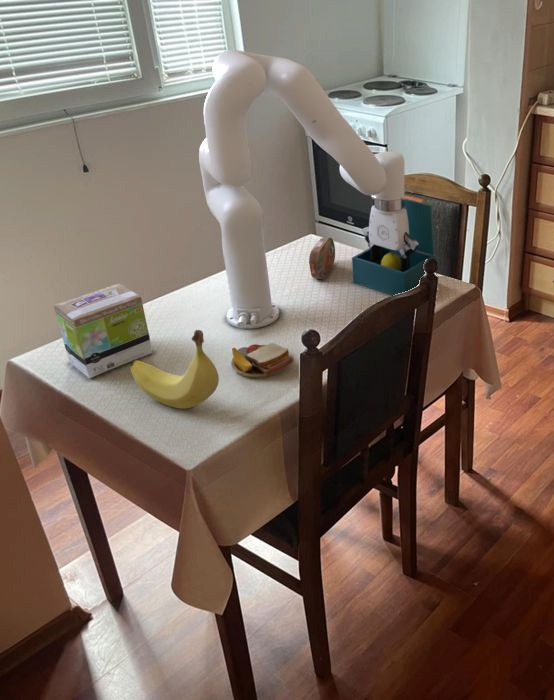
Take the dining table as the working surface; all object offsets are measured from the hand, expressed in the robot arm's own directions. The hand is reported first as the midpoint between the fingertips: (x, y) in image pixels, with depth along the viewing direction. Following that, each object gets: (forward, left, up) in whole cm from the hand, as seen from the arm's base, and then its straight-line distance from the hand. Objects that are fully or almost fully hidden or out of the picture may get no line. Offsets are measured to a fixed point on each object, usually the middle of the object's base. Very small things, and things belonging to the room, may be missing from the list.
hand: (390, 265), depth 189 cm
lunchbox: (+1, -1, -5) cm, 5 cm away
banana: (-51, +45, -5) cm, 68 cm away
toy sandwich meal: (-38, +29, -5) cm, 48 cm away
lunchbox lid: (+5, -4, +9) cm, 12 cm away
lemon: (0, 0, -5) cm, 5 cm away
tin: (+8, +18, -5) cm, 21 cm away
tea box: (-33, +63, -5) cm, 71 cm away
